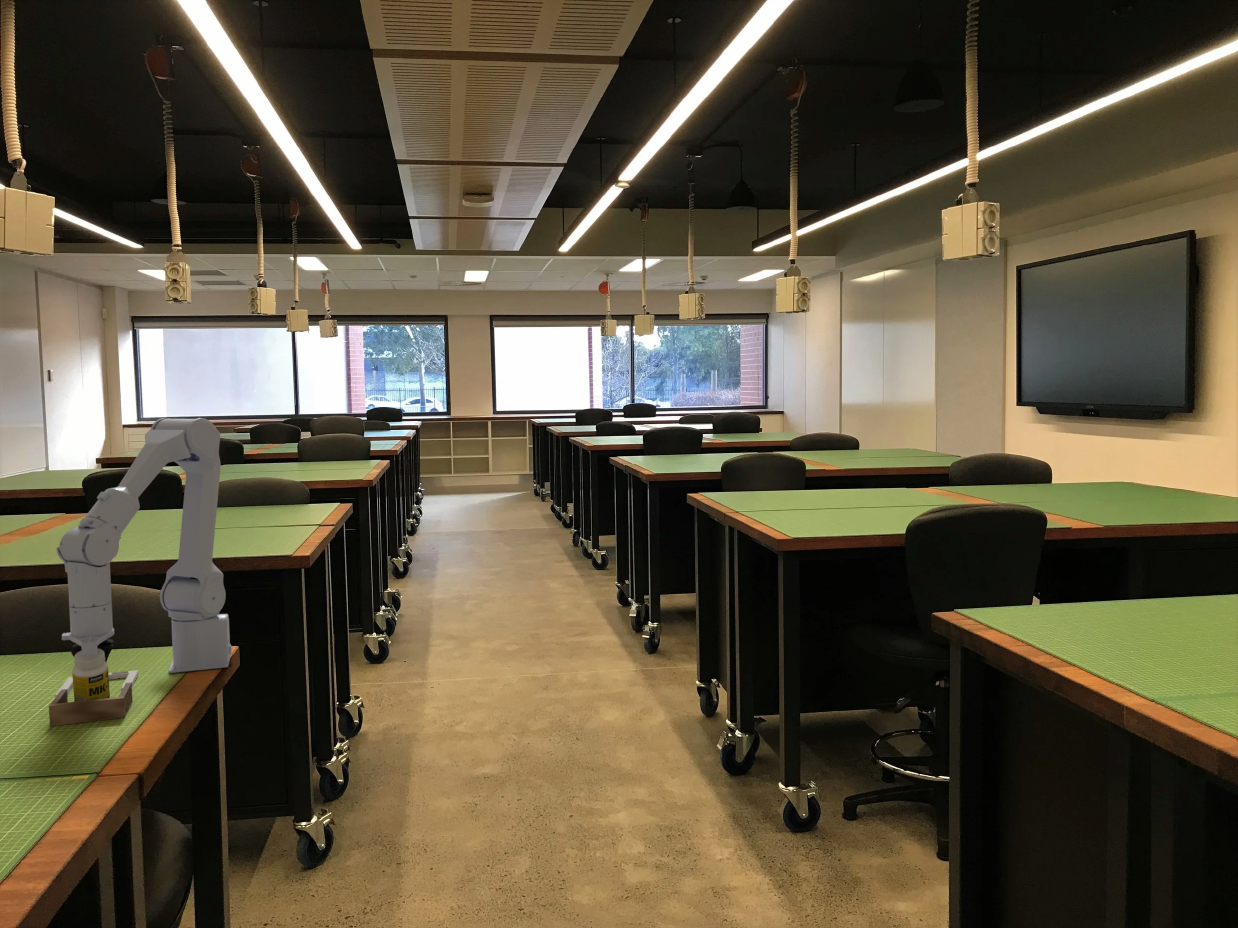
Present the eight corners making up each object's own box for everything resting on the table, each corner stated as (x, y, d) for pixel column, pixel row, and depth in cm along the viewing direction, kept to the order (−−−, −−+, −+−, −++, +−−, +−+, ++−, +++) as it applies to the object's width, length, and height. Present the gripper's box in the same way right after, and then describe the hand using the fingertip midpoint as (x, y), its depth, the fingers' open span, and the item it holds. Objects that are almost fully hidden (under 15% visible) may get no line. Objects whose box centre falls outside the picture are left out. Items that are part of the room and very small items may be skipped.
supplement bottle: (91, 714, 135) (87, 666, 132) (67, 705, 136) (63, 657, 134) (117, 697, 140) (114, 651, 137) (93, 689, 141) (90, 643, 138)
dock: (138, 674, 154) (138, 669, 153) (129, 691, 144) (129, 686, 144) (68, 681, 150) (68, 676, 150) (55, 699, 141) (55, 694, 141)
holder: (132, 700, 140) (131, 682, 140) (124, 717, 133) (123, 697, 133) (62, 708, 137) (61, 689, 137) (49, 726, 130) (48, 705, 129)
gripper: (64, 597, 144) (68, 679, 145) (56, 616, 131) (60, 707, 132) (114, 592, 147) (118, 673, 148) (111, 611, 134) (115, 699, 135)
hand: (94, 688), depth 140 cm, fingers closed
